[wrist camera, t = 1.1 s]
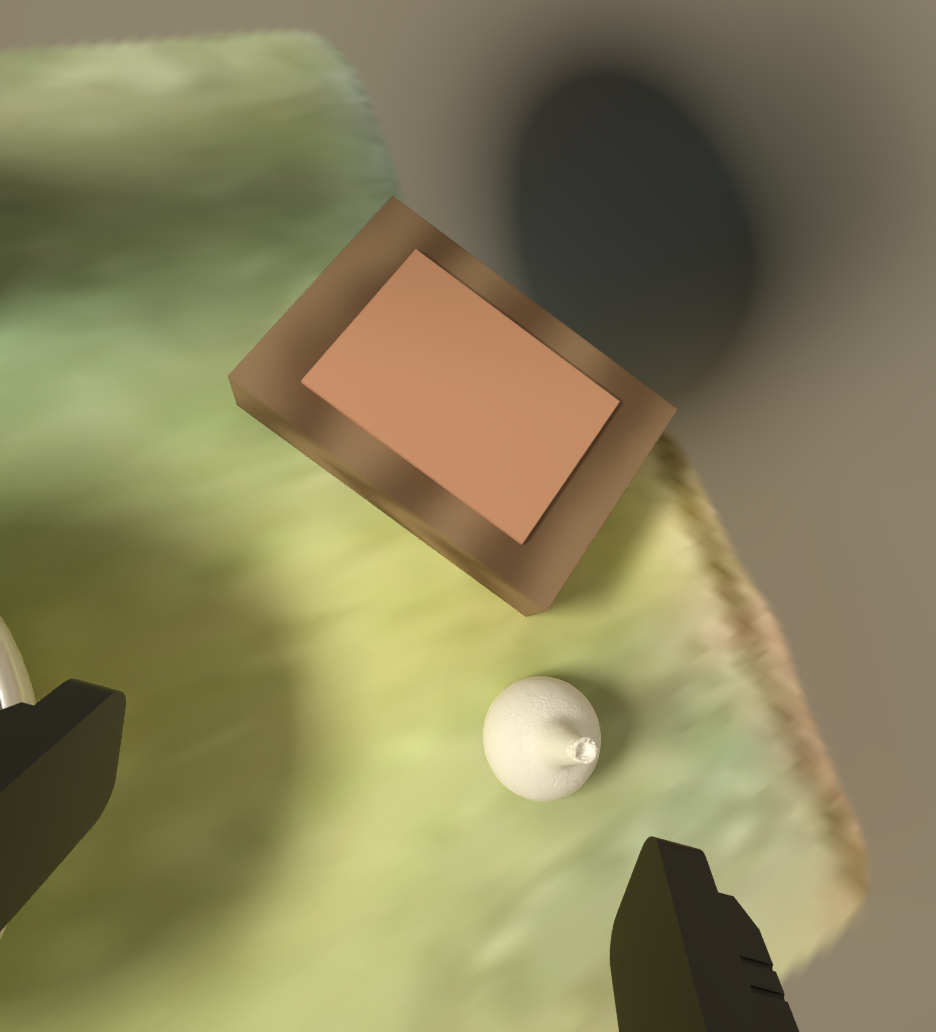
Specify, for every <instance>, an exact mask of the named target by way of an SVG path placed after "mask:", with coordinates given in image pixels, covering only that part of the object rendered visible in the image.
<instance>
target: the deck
mask: <svg viewBox="0 0 936 1032" xmlns="http://www.w3.org/2000/svg"><path fill="white" fill-rule="evenodd" d="M415 249H417V250H418V251H419V252H421V253H422V254H423V255H425V256H426V257H427V258H429V259H430V260H431V261H433V262H434V263H435V264H437V265H438V266H439V267H441V268H442V269H443V270H445V271H446V272H447V273H449V274H450V275H451V276H453V277H454V278H455V279H457V280H458V281H459V282H461V283H462V284H463V285H465V286H466V287H467V288H469V289H470V290H471V291H473V292H474V293H475V294H477V295H478V296H479V297H481V298H482V299H483V300H485V301H486V302H487V303H489V304H490V305H492V306H493V307H494V308H496V309H497V310H498V311H500V312H501V313H502V314H504V315H505V316H506V317H508V318H509V319H510V320H512V321H513V322H514V323H516V324H517V325H518V326H520V327H521V328H522V329H524V330H525V331H526V332H528V333H529V334H530V335H532V336H533V337H534V338H536V339H537V340H538V341H540V342H541V343H542V344H544V345H545V346H546V347H548V348H549V349H550V350H552V351H553V352H554V353H556V354H557V355H558V356H560V357H561V358H562V359H564V360H565V361H566V362H568V363H569V364H570V365H572V366H573V367H574V368H576V369H577V370H578V371H580V372H581V373H582V374H584V375H585V376H586V377H588V378H589V379H591V380H592V381H593V382H595V383H596V384H597V385H599V386H600V387H601V388H603V389H604V390H605V391H607V392H608V393H609V394H611V395H612V396H613V397H615V398H616V399H617V400H619V401H620V402H619V403H618V405H617V406H616V408H615V409H614V411H613V412H612V414H611V415H610V417H609V418H608V420H607V421H606V422H605V424H604V425H603V427H602V428H601V430H600V431H599V433H598V434H597V436H596V437H595V439H594V440H593V441H592V443H591V444H590V446H589V447H588V449H587V450H586V452H585V453H584V455H583V456H582V458H581V459H580V460H579V462H578V463H577V465H576V466H575V468H574V469H573V471H572V472H571V474H570V475H569V477H568V478H567V479H566V481H565V482H564V484H563V485H562V487H561V488H560V490H559V491H558V493H557V494H556V496H555V497H554V498H553V500H552V501H551V503H550V504H549V506H548V507H547V509H546V510H545V512H544V513H543V515H542V516H541V517H540V519H539V520H538V522H537V523H536V525H535V526H534V528H533V529H532V531H531V532H530V534H529V535H528V536H527V538H526V539H525V541H524V542H523V544H520V543H518V542H517V541H515V540H514V539H513V538H511V537H510V536H509V535H507V534H506V533H505V532H503V531H502V530H501V529H499V528H498V527H496V526H495V525H494V524H492V523H491V522H490V521H488V520H487V519H486V518H484V517H483V516H482V515H480V514H479V513H477V512H476V511H475V510H473V509H472V508H471V507H469V506H468V505H467V504H465V503H464V502H463V501H461V500H460V499H458V498H457V497H456V496H454V495H453V494H452V493H450V492H449V491H448V490H446V489H445V488H443V487H442V486H441V485H439V484H438V483H437V482H435V481H434V480H433V479H431V478H430V477H429V476H427V475H426V474H424V473H423V472H422V471H420V470H419V469H418V468H416V467H415V466H414V465H412V464H411V463H410V462H408V461H407V460H405V459H404V458H403V457H401V456H400V455H399V454H397V453H396V452H395V451H393V450H392V449H391V448H389V447H388V446H386V445H385V444H384V443H382V442H381V441H380V440H378V439H377V438H376V437H374V436H373V435H372V434H370V433H369V432H367V431H366V430H365V429H363V428H362V427H361V426H359V425H358V424H357V423H355V422H354V421H353V420H351V419H350V418H348V417H347V416H346V415H344V414H343V413H342V412H340V411H339V410H338V409H336V408H335V407H334V406H332V405H331V404H329V403H328V402H327V401H325V400H324V399H323V398H321V397H320V396H319V395H317V394H316V393H314V392H313V391H312V390H310V389H309V388H308V387H306V386H305V385H304V384H302V383H301V380H302V379H303V378H304V377H305V376H306V374H307V373H308V372H309V371H310V370H311V369H312V368H313V366H314V365H315V364H316V363H317V362H318V361H319V359H320V358H321V357H322V356H323V355H324V354H325V353H326V351H327V350H328V349H329V348H330V347H331V346H332V345H333V343H334V342H335V341H336V340H337V339H338V338H339V337H340V335H341V334H342V333H343V332H344V331H345V330H346V328H347V327H348V326H349V325H350V324H351V323H352V322H353V320H354V319H355V318H356V317H357V316H358V315H359V314H360V312H361V311H362V310H363V309H364V308H365V307H366V305H367V304H368V303H369V302H370V301H371V300H372V299H373V297H374V296H375V295H376V294H377V293H378V292H379V291H380V289H381V288H382V287H383V286H384V285H385V284H386V283H387V281H388V280H389V279H390V278H391V277H392V276H393V274H394V273H395V272H396V271H397V270H398V269H399V268H400V266H401V265H402V264H403V263H404V262H405V261H406V260H407V258H408V257H409V256H410V255H411V254H412V253H413V252H414V250H415ZM228 378H229V381H230V384H231V387H232V391H233V394H234V397H235V400H236V403H237V405H238V406H239V407H241V408H242V409H243V410H245V411H246V412H247V413H249V414H250V415H251V416H253V417H254V418H256V419H257V420H258V421H260V422H261V423H262V424H264V425H265V426H266V427H268V428H269V429H271V430H272V431H273V432H275V433H276V434H277V435H279V436H280V437H281V438H283V439H284V440H286V441H287V442H288V443H290V444H291V445H292V446H294V447H295V448H296V449H298V450H299V451H301V452H302V453H303V454H305V455H306V456H307V457H309V458H310V459H311V460H313V461H314V462H316V463H317V464H318V465H320V466H321V467H322V468H324V469H325V470H326V471H328V472H329V473H331V474H332V475H333V476H335V477H336V478H337V479H339V480H340V481H341V482H343V483H344V484H346V485H347V486H348V487H350V488H351V489H352V490H354V491H355V492H357V493H358V494H359V495H361V496H362V497H363V498H365V499H366V500H367V501H369V502H370V503H372V504H373V505H374V506H376V507H377V508H378V509H380V510H381V511H382V512H384V513H385V514H387V515H388V516H389V517H391V518H392V519H393V520H395V521H396V522H397V523H399V524H400V525H402V526H403V527H404V528H406V529H407V530H408V531H410V532H411V533H412V534H414V535H415V536H417V537H418V538H419V539H421V540H422V541H423V542H425V543H426V544H427V545H429V546H430V547H432V548H433V549H434V550H436V551H437V552H438V553H440V554H441V555H442V556H444V557H445V558H447V559H448V560H449V561H451V562H452V563H453V564H455V565H456V566H457V567H459V568H460V569H462V570H463V571H464V572H466V573H467V574H468V575H470V576H471V577H472V578H474V579H475V580H477V581H478V582H479V583H481V584H482V585H483V586H485V587H486V588H487V589H489V590H490V591H492V592H493V593H494V594H496V595H497V596H498V597H500V598H501V599H502V600H504V601H505V602H507V603H508V604H509V605H511V606H512V607H513V608H515V609H516V610H517V611H519V612H520V613H522V614H523V615H524V616H530V615H533V614H536V613H540V612H543V611H546V610H548V608H549V607H550V605H551V603H552V602H553V600H554V599H555V597H556V596H557V594H558V593H559V591H560V590H561V588H562V587H563V585H564V583H565V582H566V580H567V579H568V577H569V576H570V574H571V573H572V571H573V570H574V568H575V567H576V565H577V563H578V562H579V560H580V559H581V557H582V556H583V554H584V553H585V551H586V550H587V548H588V547H589V545H590V543H591V542H592V540H593V539H594V537H595V536H596V534H597V533H598V531H599V530H600V528H601V526H602V525H603V523H604V522H605V520H606V519H607V517H608V516H609V514H610V513H611V511H612V510H613V508H614V506H615V505H616V503H617V502H618V500H619V499H620V497H621V496H622V494H623V493H624V491H625V490H626V488H627V486H628V485H629V483H630V482H631V480H632V479H633V477H634V476H635V474H636V473H637V471H638V470H639V468H640V466H641V465H642V463H643V462H644V460H645V459H646V457H647V456H648V454H649V453H650V451H651V449H652V448H653V446H654V445H655V443H656V442H657V440H658V439H659V437H660V436H661V434H662V433H663V431H664V429H665V428H666V426H667V425H668V423H669V422H670V420H671V419H672V417H673V416H674V414H675V412H676V411H677V408H675V407H674V406H673V405H671V404H670V403H669V402H667V401H666V400H664V399H663V398H662V397H661V396H659V395H658V394H657V393H655V392H654V391H653V390H651V389H650V388H649V387H647V386H646V385H645V384H643V383H642V382H641V381H639V380H638V379H637V378H635V377H634V376H633V375H631V374H630V373H629V372H627V371H626V370H625V369H623V368H622V367H621V366H619V365H618V364H617V363H615V362H614V361H613V360H611V359H610V358H609V357H607V356H606V355H605V354H603V353H602V352H600V351H599V350H597V349H596V348H595V347H594V346H592V345H591V344H590V343H589V342H587V341H586V340H585V339H583V338H582V337H581V336H579V335H578V334H577V333H575V332H574V331H573V330H571V329H570V328H569V327H567V326H566V325H565V324H563V323H562V322H560V321H559V320H558V319H556V318H555V317H554V316H552V315H551V314H550V313H549V312H547V311H546V310H545V309H543V308H542V307H541V306H539V305H538V304H537V303H535V302H534V301H532V300H531V299H530V298H528V297H527V296H526V295H524V294H523V293H522V292H520V291H519V290H517V289H516V288H515V287H514V286H512V285H511V284H510V283H508V282H507V281H506V280H504V279H503V278H502V277H500V276H499V275H498V274H496V273H495V272H494V271H492V270H491V269H490V268H488V267H487V266H486V265H484V264H483V263H482V262H480V261H479V260H478V259H476V258H475V257H474V256H472V255H471V254H470V253H468V252H467V251H466V250H464V249H463V248H462V247H460V246H459V245H458V244H456V243H455V242H453V241H452V240H451V239H450V238H448V237H447V236H445V235H444V234H443V233H442V232H440V231H439V230H438V229H436V228H435V227H434V226H432V225H431V224H430V223H428V222H427V221H426V220H424V219H423V218H422V217H420V216H419V215H418V214H416V213H415V212H414V211H412V210H411V209H410V208H408V207H407V206H406V205H404V204H403V203H402V202H400V201H399V200H398V199H396V198H395V197H394V196H392V197H391V198H390V199H389V200H388V201H387V202H386V203H385V205H384V206H383V207H382V208H381V209H380V210H379V211H378V212H377V213H376V214H375V215H374V217H373V218H372V219H371V220H370V221H369V222H368V223H367V224H366V225H365V226H364V228H363V229H362V230H361V231H360V232H359V233H358V234H357V235H356V236H355V237H354V238H353V240H352V241H351V242H350V243H349V244H348V245H347V246H346V247H345V248H344V249H343V250H342V252H341V253H340V254H339V255H338V256H337V257H336V258H335V259H334V260H333V261H332V263H331V264H330V265H329V266H328V267H327V268H326V269H325V270H324V271H323V272H322V273H321V275H320V276H319V277H318V278H317V279H316V280H315V281H314V282H313V283H312V284H311V285H310V287H309V288H308V289H307V290H306V291H305V292H304V293H303V294H302V295H301V296H300V298H299V299H298V300H297V301H296V302H295V303H294V304H293V305H292V306H291V307H290V308H289V310H288V311H287V312H286V313H285V314H284V315H283V316H282V317H281V318H280V319H279V321H278V322H277V323H276V324H275V325H274V326H273V327H272V328H271V329H270V330H269V331H268V333H267V334H266V335H265V336H264V337H263V338H262V339H261V340H260V341H259V342H258V343H257V345H256V346H255V347H254V348H253V349H252V350H251V351H250V352H249V353H248V354H247V356H246V357H245V358H244V359H243V360H242V361H241V362H240V363H239V364H238V365H237V366H236V368H235V369H234V370H233V371H232V372H231V373H230V374H229V375H228Z"/></svg>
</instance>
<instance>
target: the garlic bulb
mask: <svg viewBox="0 0 936 1032" xmlns="http://www.w3.org/2000/svg"><path fill="white" fill-rule="evenodd" d="M483 743H484V750H485V754H486V757H487V760H488V762H489V765H490V767H491V769H492V771H493V772H494V774H495V775H496V776H497V778H498V779H499V780H500V781H501V783H502V784H503V785H504V786H505V787H507V788H508V789H509V790H511V791H512V792H514V793H516V794H517V795H519V796H522V797H524V798H527V799H530V800H534V801H554V800H558V799H562V798H564V797H566V796H568V795H570V794H572V793H574V792H575V791H576V790H578V789H579V788H580V787H581V786H582V785H583V784H584V783H585V782H586V781H587V780H588V778H589V777H590V776H591V774H592V773H593V771H594V769H595V767H596V764H597V761H598V758H599V754H600V747H601V732H600V726H599V721H598V718H597V715H596V713H595V711H594V709H593V707H592V705H591V704H590V702H589V701H588V700H587V698H586V697H585V696H584V695H583V694H582V693H581V692H580V691H579V690H578V689H576V688H575V687H574V686H572V685H570V684H569V683H567V682H565V681H562V680H560V679H557V678H553V677H547V676H534V677H527V678H523V679H521V680H518V681H516V682H514V683H512V684H511V685H509V686H507V687H506V688H505V689H504V690H502V691H501V693H500V694H499V695H498V696H497V697H496V698H495V700H494V701H493V703H492V704H491V706H490V708H489V710H488V712H487V715H486V718H485V722H484V728H483Z"/></svg>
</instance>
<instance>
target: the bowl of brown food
mask: <svg viewBox="0 0 936 1032" xmlns="http://www.w3.org/2000/svg"><path fill="white" fill-rule="evenodd" d="M20 702H23V703H27V704H30V705H35V704H36V700H35V696H34V691H33V687H32V684H31V681H30V678H29V675H28V672H27V669H26V666H25V663H24V661H23V658H22V656H21V653H20V651H19V649H18V647H17V645H16V643H15V641H14V639H13V637H12V634H11V632H10V630H9V629H8V627H7V625H6V624H5V622H4V620H3V619H2V617H1V616H0V710H2V709H4V708H7V707H10V706H12V705H15V704H18V703H20ZM7 925H8V924H7ZM7 925H6V926H5V927H4V928H3V929H2V931H1V932H0V939H1V937H2V935H3V933H4V931H5V929H6V927H7Z"/></svg>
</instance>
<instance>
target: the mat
mask: <svg viewBox="0 0 936 1032" xmlns="http://www.w3.org/2000/svg"><path fill="white" fill-rule="evenodd" d="M301 383H302V384H304V385H305V386H306V387H308V388H309V389H310V390H312V391H313V392H314V393H316V394H317V395H319V396H320V397H321V398H323V399H324V400H325V401H327V402H328V403H329V404H331V405H332V406H334V407H335V408H336V409H338V410H339V411H340V412H342V413H343V414H344V415H346V416H347V417H348V418H350V419H351V420H353V421H354V422H355V423H357V424H358V425H359V426H361V427H362V428H363V429H365V430H366V431H367V432H369V433H370V434H372V435H373V436H374V437H376V438H377V439H378V440H380V441H381V442H382V443H384V444H385V445H386V446H388V447H389V448H391V449H392V450H393V451H395V452H396V453H397V454H399V455H400V456H401V457H403V458H404V459H405V460H407V461H408V462H410V463H411V464H412V465H414V466H415V467H416V468H418V469H419V470H420V471H422V472H423V473H424V474H426V475H427V476H429V477H430V478H431V479H433V480H434V481H435V482H437V483H438V484H439V485H441V486H442V487H443V488H445V489H446V490H448V491H449V492H450V493H452V494H453V495H454V496H456V497H457V498H458V499H460V500H461V501H463V502H464V503H465V504H467V505H468V506H469V507H471V508H472V509H473V510H475V511H476V512H477V513H479V514H480V515H482V516H483V517H484V518H486V519H487V520H488V521H490V522H491V523H492V524H494V525H495V526H496V527H498V528H499V529H501V530H502V531H503V532H505V533H506V534H507V535H509V536H510V537H511V538H513V539H514V540H515V541H517V542H518V543H520V544H523V542H524V541H525V539H526V538H527V536H528V535H529V534H530V532H531V531H532V529H533V528H534V526H535V525H536V523H537V522H538V520H539V519H540V517H541V516H542V515H543V513H544V512H545V510H546V509H547V507H548V506H549V504H550V503H551V501H552V500H553V498H554V497H555V496H556V494H557V493H558V491H559V490H560V488H561V487H562V485H563V484H564V482H565V481H566V479H567V478H568V477H569V475H570V474H571V472H572V471H573V469H574V468H575V466H576V465H577V463H578V462H579V460H580V459H581V458H582V456H583V455H584V453H585V452H586V450H587V449H588V447H589V446H590V444H591V443H592V441H593V440H594V439H595V437H596V436H597V434H598V433H599V431H600V430H601V428H602V427H603V425H604V424H605V422H606V421H607V420H608V418H609V417H610V415H611V414H612V412H613V411H614V409H615V408H616V406H617V405H618V403H619V402H620V401H619V400H617V399H616V398H615V397H613V396H612V395H611V394H609V393H608V392H607V391H605V390H604V389H603V388H601V387H600V386H599V385H597V384H596V383H595V382H593V381H592V380H591V379H589V378H588V377H586V376H585V375H584V374H582V373H581V372H580V371H578V370H577V369H576V368H574V367H573V366H572V365H570V364H569V363H568V362H566V361H565V360H564V359H562V358H561V357H560V356H558V355H557V354H556V353H554V352H553V351H552V350H550V349H549V348H548V347H546V346H545V345H544V344H542V343H541V342H540V341H538V340H537V339H536V338H534V337H533V336H532V335H530V334H529V333H528V332H526V331H525V330H524V329H522V328H521V327H520V326H518V325H517V324H516V323H514V322H513V321H512V320H510V319H509V318H508V317H506V316H505V315H504V314H502V313H501V312H500V311H498V310H497V309H496V308H494V307H493V306H492V305H490V304H489V303H487V302H486V301H485V300H483V299H482V298H481V297H479V296H478V295H477V294H475V293H474V292H473V291H471V290H470V289H469V288H467V287H466V286H465V285H463V284H462V283H461V282H459V281H458V280H457V279H455V278H454V277H453V276H451V275H450V274H449V273H447V272H446V271H445V270H443V269H442V268H441V267H439V266H438V265H437V264H435V263H434V262H433V261H431V260H430V259H429V258H427V257H426V256H425V255H423V254H422V253H421V252H419V251H418V250H417V249H415V250H414V252H413V253H412V254H411V255H410V256H409V257H408V258H407V260H406V261H405V262H404V263H403V264H402V265H401V266H400V268H399V269H398V270H397V271H396V272H395V273H394V274H393V276H392V277H391V278H390V279H389V280H388V281H387V283H386V284H385V285H384V286H383V287H382V288H381V289H380V291H379V292H378V293H377V294H376V295H375V296H374V297H373V299H372V300H371V301H370V302H369V303H368V304H367V305H366V307H365V308H364V309H363V310H362V311H361V312H360V314H359V315H358V316H357V317H356V318H355V319H354V320H353V322H352V323H351V324H350V325H349V326H348V327H347V328H346V330H345V331H344V332H343V333H342V334H341V335H340V337H339V338H338V339H337V340H336V341H335V342H334V343H333V345H332V346H331V347H330V348H329V349H328V350H327V351H326V353H325V354H324V355H323V356H322V357H321V358H320V359H319V361H318V362H317V363H316V364H315V365H314V366H313V368H312V369H311V370H310V371H309V372H308V373H307V374H306V376H305V377H304V378H303V379H302V380H301Z"/></svg>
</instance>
